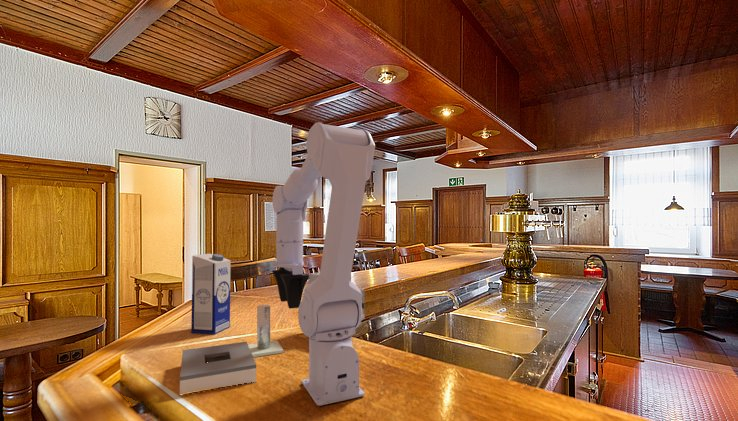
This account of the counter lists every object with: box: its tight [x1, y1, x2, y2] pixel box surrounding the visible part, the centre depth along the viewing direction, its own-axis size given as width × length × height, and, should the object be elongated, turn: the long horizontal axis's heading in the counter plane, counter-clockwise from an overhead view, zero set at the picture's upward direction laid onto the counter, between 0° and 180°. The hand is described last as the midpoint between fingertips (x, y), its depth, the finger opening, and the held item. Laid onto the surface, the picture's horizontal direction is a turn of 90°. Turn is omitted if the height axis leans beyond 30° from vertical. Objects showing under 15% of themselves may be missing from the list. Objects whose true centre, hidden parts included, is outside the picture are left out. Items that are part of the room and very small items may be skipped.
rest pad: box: [248, 340, 284, 358], centre depth 80 cm, size 7×7×1 cm
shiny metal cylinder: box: [256, 304, 271, 350], centre depth 80 cm, size 3×3×9 cm
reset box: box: [179, 341, 257, 395], centre depth 68 cm, size 14×12×3 cm
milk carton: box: [190, 253, 232, 335], centre depth 96 cm, size 7×7×20 cm
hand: (289, 304), depth 79 cm, fingers open, 7 cm apart
